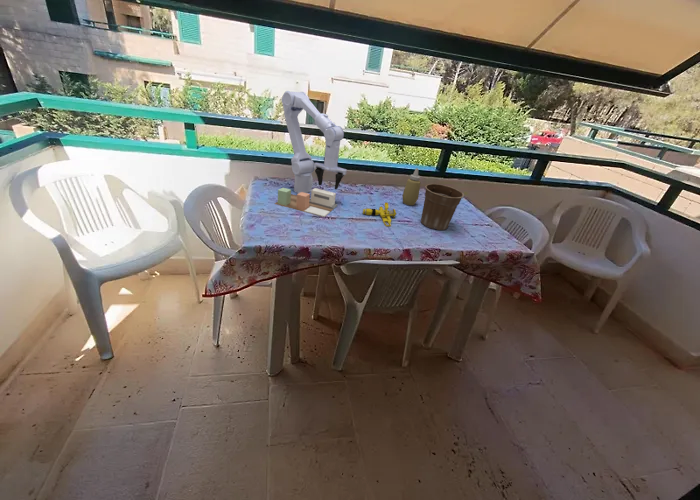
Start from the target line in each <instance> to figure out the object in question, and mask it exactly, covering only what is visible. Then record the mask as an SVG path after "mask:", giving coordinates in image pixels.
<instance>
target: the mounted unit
mask: <svg viewBox="0 0 700 500" xmlns="http://www.w3.org/2000/svg"><path fill="white" fill-rule="evenodd" d="M336 197H337V193H336V192H332V191H328V190H324V189H321V188H317V187H315V188H312V191H311V192H310V199H311V200H309V203H311V204H314V205H318V206H322V207H326V208H329V209H333V210H334V209H335V207H336V208H337V207H338V204H337V203H336Z"/></svg>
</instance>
